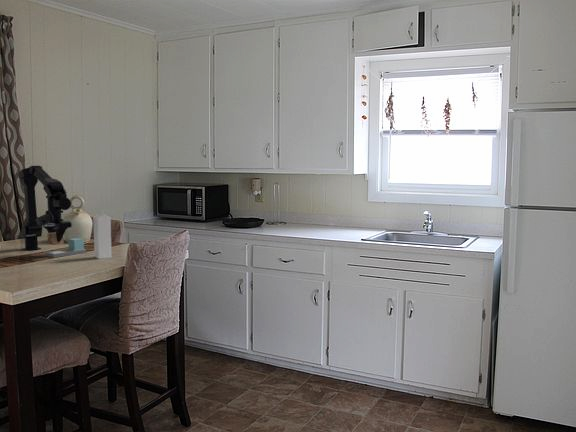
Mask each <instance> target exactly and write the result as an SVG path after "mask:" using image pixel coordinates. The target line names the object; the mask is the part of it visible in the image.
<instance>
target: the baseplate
mask: <svg viewBox="0 0 576 432" xmlns="http://www.w3.org/2000/svg"><path fill="white" fill-rule="evenodd" d="M87 253H88V251H87V249H85V248H84V249H82V250H76V251H74V250H69V248H68V249H62V250H55V251H48V252H47V251H46V252H45V256H46V257H50V258H54V259H55V258H60V257H67V256H73V255H80V254H87Z"/></svg>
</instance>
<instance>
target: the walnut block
mask: <svg viewBox="0 0 576 432" xmlns="http://www.w3.org/2000/svg"><path fill="white" fill-rule="evenodd" d="M46 235H47V245H52V246H57V245H62V244H64V243H65V242H64V236H63V237H62V239H61V241H60V242H57V236H56V232H54V233H48V232H47V234H46Z"/></svg>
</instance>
